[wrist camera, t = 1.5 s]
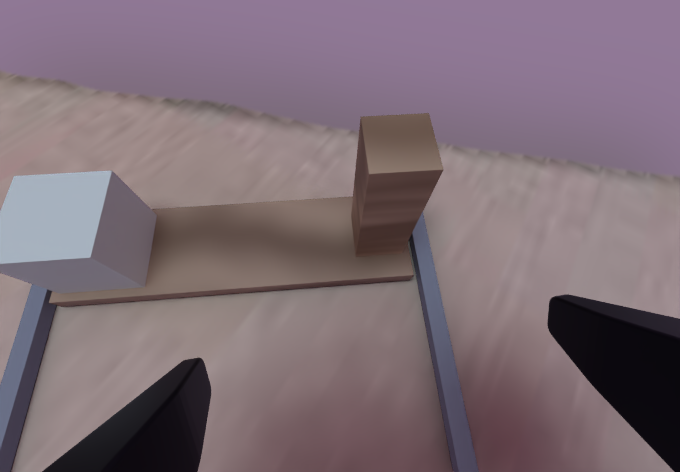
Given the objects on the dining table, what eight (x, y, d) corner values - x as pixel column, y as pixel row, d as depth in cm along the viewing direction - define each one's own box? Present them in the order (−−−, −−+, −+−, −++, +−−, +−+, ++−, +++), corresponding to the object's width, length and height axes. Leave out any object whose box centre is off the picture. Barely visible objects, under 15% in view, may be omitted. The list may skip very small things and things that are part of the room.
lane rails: (471, 468, 18) (478, 472, 17) (-25, 521, 16) (-46, 529, 15) (414, 195, 25) (417, 187, 24) (66, 217, 24) (55, 210, 23)
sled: (410, 279, 22) (464, 200, 13) (61, 306, 21) (-152, 241, 12) (396, 201, 24) (433, 88, 15) (84, 221, 23) (-77, 112, 14)
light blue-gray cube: (145, 287, 20) (90, 257, 16) (59, 293, 20) (-21, 265, 15) (156, 215, 22) (111, 170, 18) (79, 220, 22) (14, 176, 18)
